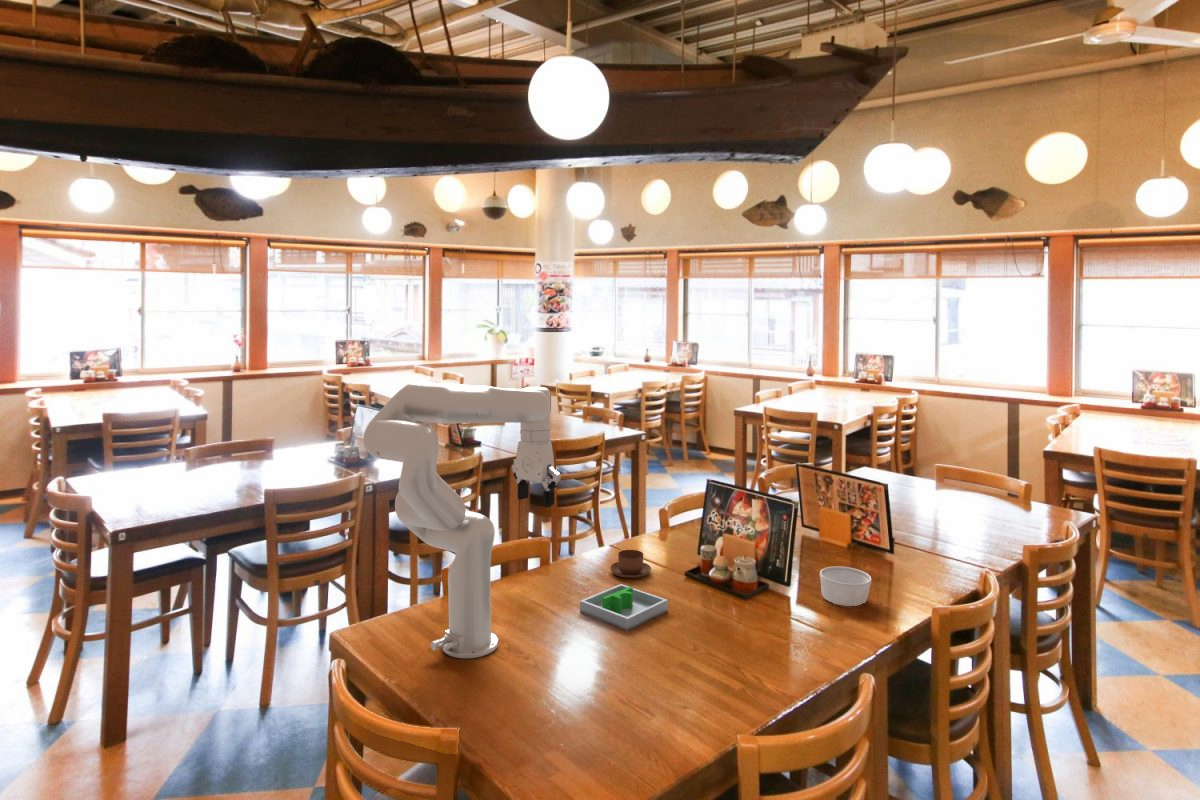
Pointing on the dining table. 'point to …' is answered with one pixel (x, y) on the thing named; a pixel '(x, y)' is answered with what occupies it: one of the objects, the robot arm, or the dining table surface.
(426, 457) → the robot arm
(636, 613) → the tray
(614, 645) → the dining table surface
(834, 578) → the ramekin
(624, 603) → the green branched block
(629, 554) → the cup and saucer
